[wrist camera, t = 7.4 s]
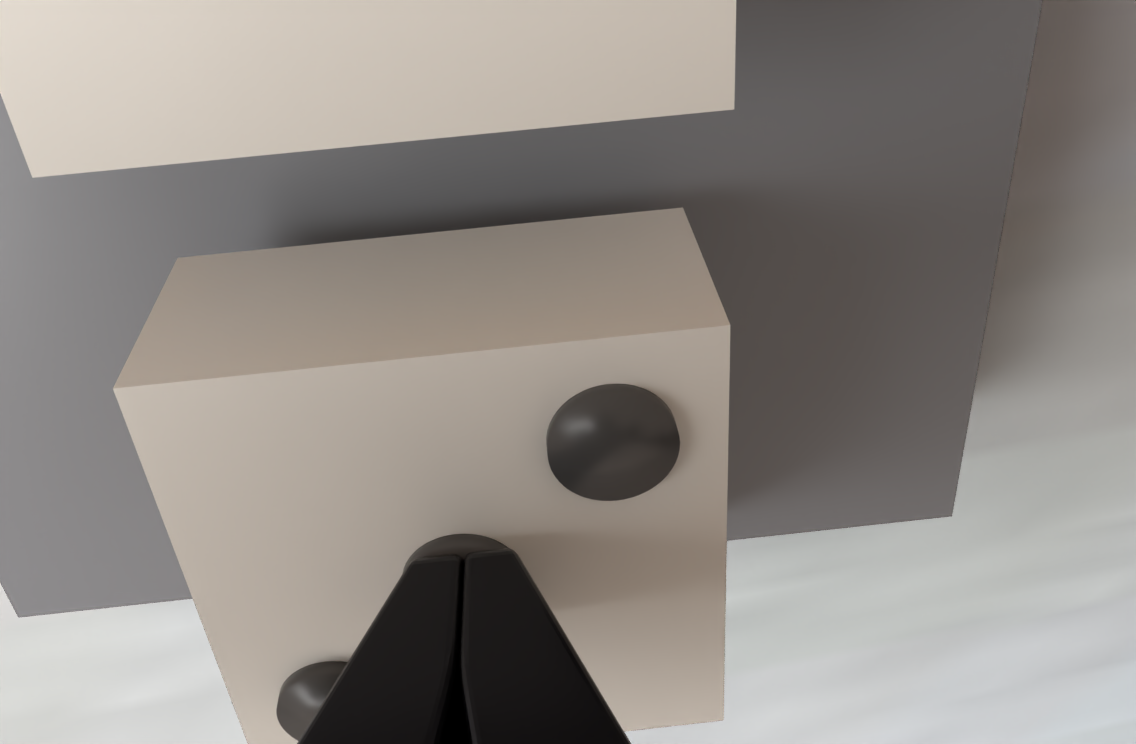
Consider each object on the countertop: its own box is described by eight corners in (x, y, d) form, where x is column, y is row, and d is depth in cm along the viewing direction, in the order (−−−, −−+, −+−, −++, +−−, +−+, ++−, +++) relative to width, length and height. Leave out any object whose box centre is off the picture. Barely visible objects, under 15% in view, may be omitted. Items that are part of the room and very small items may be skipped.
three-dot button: (683, 207, 9) (734, 336, 7) (686, 571, 12) (726, 732, 10) (177, 257, 9) (106, 400, 7) (288, 614, 12) (256, 786, 10)
